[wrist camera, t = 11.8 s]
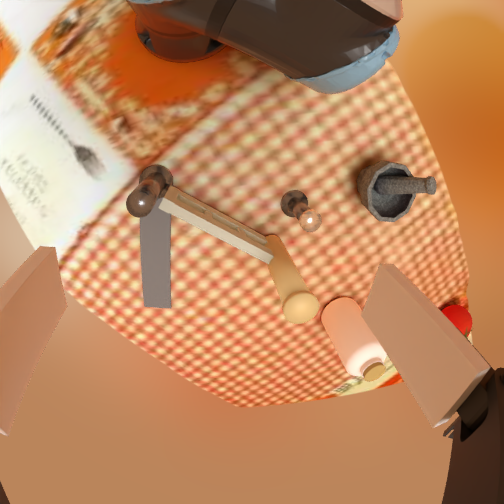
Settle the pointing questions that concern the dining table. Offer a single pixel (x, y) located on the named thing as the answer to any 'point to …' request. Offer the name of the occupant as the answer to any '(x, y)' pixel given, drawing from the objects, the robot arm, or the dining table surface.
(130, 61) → the dining table surface
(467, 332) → the tomato
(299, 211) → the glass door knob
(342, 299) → the potion bottle
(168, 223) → the strip
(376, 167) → the mortar and pestle
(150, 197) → the brown knob post
